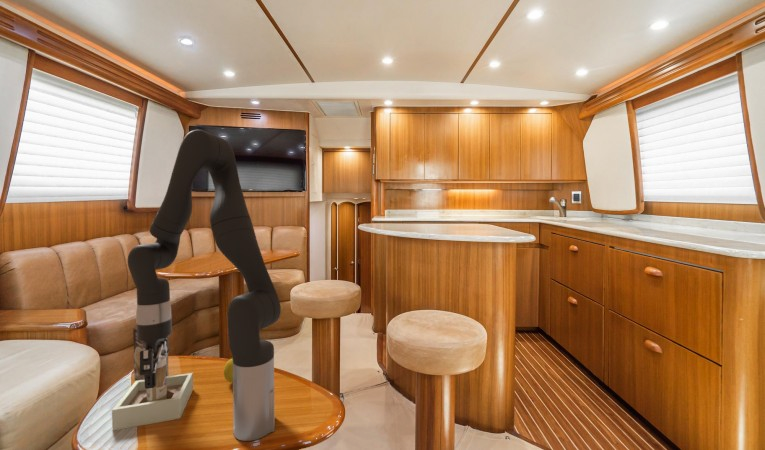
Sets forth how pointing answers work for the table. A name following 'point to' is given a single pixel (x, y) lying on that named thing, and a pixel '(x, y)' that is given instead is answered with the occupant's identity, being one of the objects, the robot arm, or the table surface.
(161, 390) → the sprinkles bottle
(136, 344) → the coffee box
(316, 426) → the table surface
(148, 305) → the robot arm
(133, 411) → the peg box
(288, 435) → the table surface
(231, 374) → the lemon
